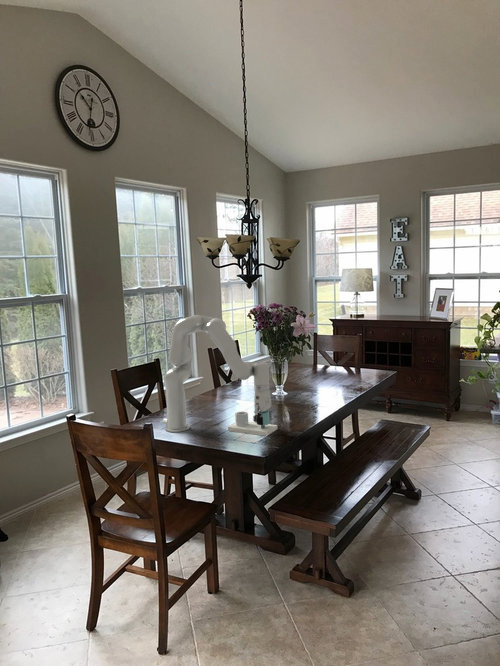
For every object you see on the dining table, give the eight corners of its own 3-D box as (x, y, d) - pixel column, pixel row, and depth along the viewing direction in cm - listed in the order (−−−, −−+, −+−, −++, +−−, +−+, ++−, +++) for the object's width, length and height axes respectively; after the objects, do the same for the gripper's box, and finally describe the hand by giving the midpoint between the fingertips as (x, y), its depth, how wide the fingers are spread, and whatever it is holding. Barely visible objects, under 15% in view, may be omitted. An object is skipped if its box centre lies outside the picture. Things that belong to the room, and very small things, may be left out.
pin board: (227, 430, 274) (227, 417, 273) (239, 424, 284) (238, 411, 283) (266, 436, 263) (266, 422, 262) (277, 429, 274) (276, 415, 273)
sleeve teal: (255, 424, 269) (254, 412, 268) (260, 421, 274) (260, 409, 273) (265, 425, 266) (265, 414, 265) (271, 422, 271) (270, 410, 271)
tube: (256, 403, 309) (251, 415, 285) (265, 400, 309) (261, 412, 284) (259, 412, 310) (255, 425, 285) (268, 409, 309) (264, 421, 284)
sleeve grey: (233, 425, 275) (233, 414, 274) (239, 422, 280) (239, 411, 279) (244, 427, 272) (243, 415, 271) (250, 423, 277) (249, 412, 277)
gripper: (260, 392, 258) (261, 428, 261) (276, 384, 274) (277, 419, 276) (246, 390, 262) (248, 426, 264) (262, 383, 277) (264, 417, 279)
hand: (263, 422), depth 270 cm, fingers closed on sleeve teal, 6 cm apart
